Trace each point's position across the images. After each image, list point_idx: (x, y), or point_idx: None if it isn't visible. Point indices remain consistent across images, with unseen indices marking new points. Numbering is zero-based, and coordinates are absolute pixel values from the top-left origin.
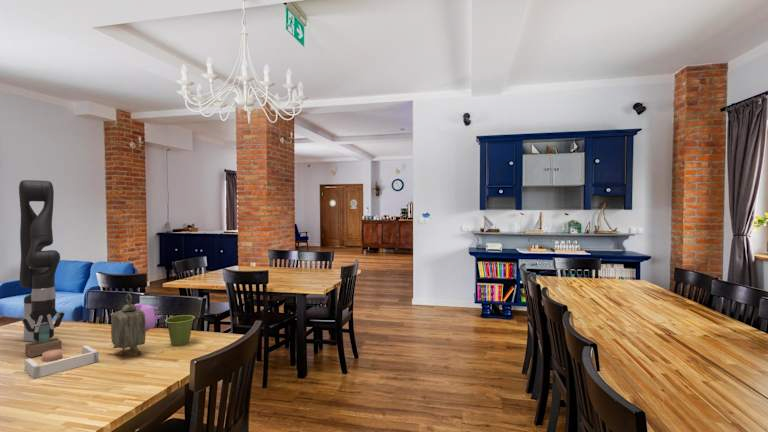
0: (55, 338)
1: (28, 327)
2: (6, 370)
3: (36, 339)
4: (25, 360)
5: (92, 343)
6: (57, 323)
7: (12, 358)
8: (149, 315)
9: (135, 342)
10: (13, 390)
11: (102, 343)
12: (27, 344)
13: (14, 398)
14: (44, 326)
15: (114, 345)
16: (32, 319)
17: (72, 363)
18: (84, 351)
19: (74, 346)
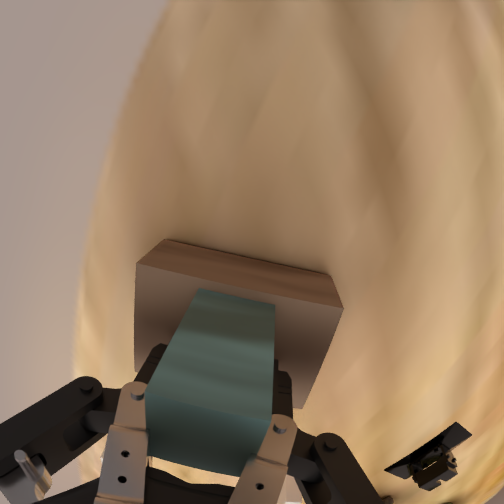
0: (324, 329)
1: (68, 443)
2: (73, 380)
3: None
4: (102, 461)
5: (434, 369)
6: (308, 492)
7: (107, 244)
8: None
9: None
10: (89, 480)
11: (437, 402)
12: (140, 296)
13: None
14: (201, 463)
15: (414, 451)
16: (66, 492)
17: None
18: (279, 498)
19: (380, 344)
